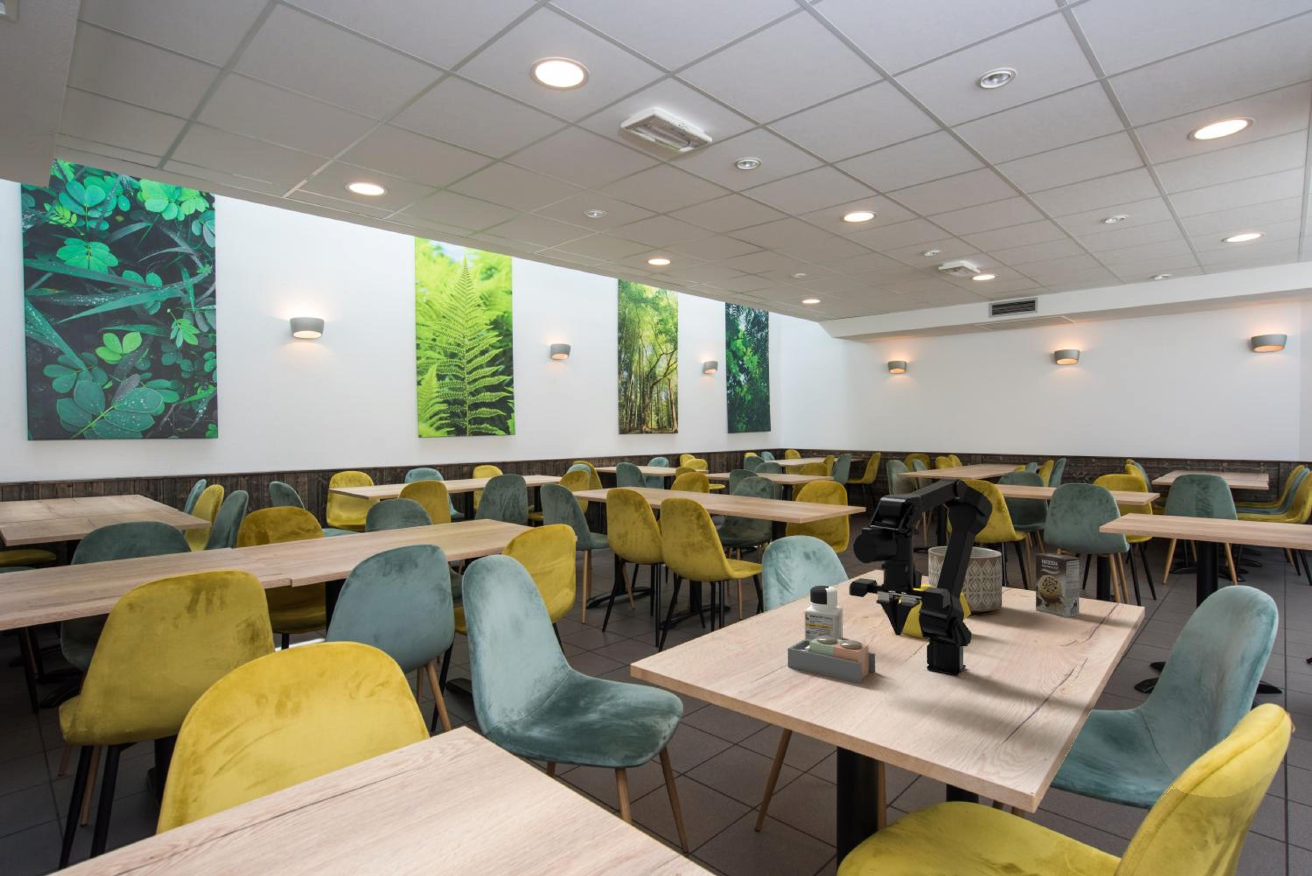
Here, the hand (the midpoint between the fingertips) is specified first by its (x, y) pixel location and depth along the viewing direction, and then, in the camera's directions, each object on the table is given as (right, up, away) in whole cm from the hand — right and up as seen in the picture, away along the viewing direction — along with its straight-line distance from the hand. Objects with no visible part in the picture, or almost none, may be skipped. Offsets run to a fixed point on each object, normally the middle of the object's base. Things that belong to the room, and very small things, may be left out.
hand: (898, 635), depth 137 cm
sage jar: (-12, -10, +10) cm, 19 cm away
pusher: (-16, -10, +13) cm, 23 cm away
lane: (-11, -10, +9) cm, 18 cm away
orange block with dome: (-8, -10, +7) cm, 14 cm away
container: (-8, -10, +31) cm, 33 cm away
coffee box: (+64, -9, +53) cm, 84 cm away
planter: (+40, -10, +59) cm, 72 cm away
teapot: (+20, -10, +37) cm, 43 cm away
